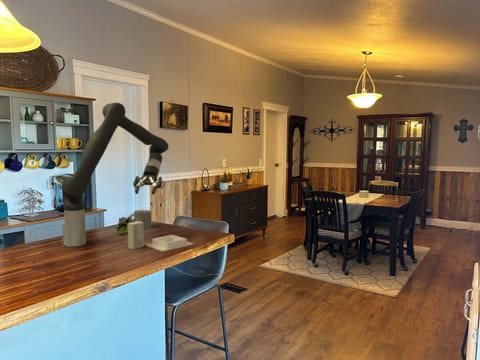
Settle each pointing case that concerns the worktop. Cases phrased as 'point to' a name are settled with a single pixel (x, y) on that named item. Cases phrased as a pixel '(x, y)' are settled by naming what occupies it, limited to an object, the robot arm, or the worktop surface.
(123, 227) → the green bumpy clump
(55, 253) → the worktop surface
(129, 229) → the skincare box
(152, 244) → the holder
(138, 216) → the coffee mug
